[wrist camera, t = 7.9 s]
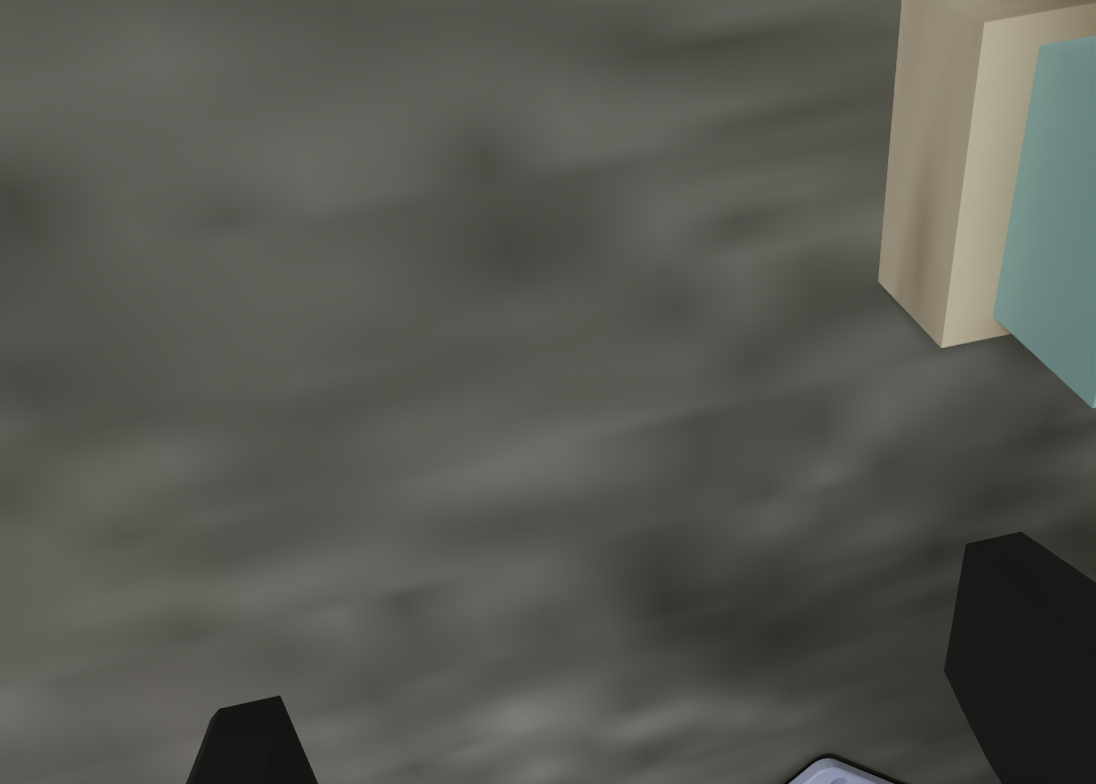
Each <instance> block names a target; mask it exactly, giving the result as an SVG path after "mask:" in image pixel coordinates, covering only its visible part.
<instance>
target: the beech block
mask: <svg viewBox="0 0 1096 784" xmlns="http://www.w3.org/2000/svg"><path fill="white" fill-rule="evenodd" d="M1094 35H1096V0H902V6H901V18H900V30H899V42H898V54H897V66H896V78H895V89H894V101H893V113H892V125H891V137H890V149H889V161H888V173H887V184H886V196H885V208H884V220H883V232H882V244H881V256H880V267H879V279H878V282H879V283H880V284H881V285H882V286H883V287H884V288H885V289H886V290H887V291H888V292H889V293H890V294H891V295H892V296H893V298H894V299H895V300H896V301H897V302H898V303H899V304H900V305H901V306H902V307H903V308H904V309H905V310H906V311H907V312H908V313H909V314H910V315H911V317H912V318H913V319H914V320H915V321H916V322H917V323H918V324H919V325H920V326H921V327H922V328H923V329H924V330H925V331H926V332H927V333H928V334H929V336H930V337H931V338H932V339H933V340H934V341H935V342H936V343H937V344H938V345H939V346H940V347H941V348H944V347H949V346H954V345H959V344H964V343H969V342H974V341H978V340H983V339H988V338H993V337H998V336H1003V335H1008V334H1012V333H1010V332H1009V331H1008V330H1007V329H1006V328H1005V327H1004V326H1003V325H1002V324H1001V323H1000V322H999V321H997V320H996V319H995V318H994V317H993V312H994V306H995V300H996V294H997V289H998V283H999V277H1000V271H1001V266H1002V260H1003V254H1004V248H1005V242H1006V237H1007V231H1008V225H1009V219H1010V214H1011V208H1012V202H1013V196H1014V190H1015V185H1016V179H1017V173H1018V167H1019V162H1020V156H1021V150H1022V144H1023V139H1024V133H1025V127H1026V122H1027V116H1028V110H1029V104H1030V99H1031V93H1032V87H1033V81H1034V76H1035V70H1036V64H1037V59H1038V53H1039V47H1040V45H1043V44H1048V43H1054V42H1060V41H1066V40H1071V39H1077V38H1083V37H1089V36H1094Z"/></svg>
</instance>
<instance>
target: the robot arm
mask: <svg viewBox="0 0 1096 784" xmlns="http://www.w3.org/2000/svg"><path fill="white" fill-rule="evenodd" d="M944 672H945V674H946V676H947V678H948V680H949V682H950V684H951V686H952V689H953V691H954V693H955V695H956V697H957V699H958V701H959V703H960V705H961V708H962V710H963V712H964V714H965V716H966V718H967V720H968V722H969V724H970V726H971V728H972V730H973V732H974V734H975V736H976V738H977V740H978V742H979V744H980V746H981V748H982V750H983V752H984V754H985V756H986V758H987V760H988V762H989V763H990V765H991V766H992V768H993V770H994V771H995V773H996V774H997V776H998V778H999V779H1000V781H1001V782H1002V784H1096V583H1095V582H1094V581H1092V580H1091V579H1089V578H1088V577H1087V576H1085V575H1084V574H1082V573H1081V572H1079V571H1078V570H1076V569H1075V568H1073V567H1072V566H1071V565H1069V564H1068V563H1066V562H1065V561H1063V560H1062V559H1060V558H1059V557H1057V556H1056V555H1055V554H1053V553H1052V552H1050V551H1049V550H1047V549H1046V548H1044V547H1043V546H1041V545H1040V544H1038V543H1037V542H1035V541H1034V540H1032V539H1031V538H1029V537H1028V536H1026V535H1025V534H1023V533H1022V532H1018V533H1013V534H1009V535H1004V536H1000V537H995V538H991V539H986V540H982V541H977V542H973V543H968V544H966V547H965V552H964V558H963V564H962V570H961V576H960V582H959V587H958V593H957V599H956V605H955V611H954V617H953V623H952V628H951V634H950V640H949V646H948V652H947V658H946V663H945V669H944ZM186 784H318V783H317V780H316V778H315V776H314V773H313V771H312V769H311V766H310V764H309V762H308V759H307V757H306V755H305V752H304V750H303V748H302V745H301V743H300V741H299V738H298V736H297V734H296V731H295V729H294V727H293V724H292V722H291V720H290V717H289V715H288V713H287V710H286V708H285V706H284V703H283V701H282V699H281V696H276V697H271V698H267V699H262V700H257V701H253V702H248V703H244V704H239V705H235V706H230V707H226V708H221V709H219V710H218V711H217V712H216V713H215V715H214V716H213V717H212V718H211V720H210V723H209V726H208V728H207V731H206V734H205V736H204V739H203V742H202V744H201V747H200V750H199V752H198V755H197V757H196V760H195V762H194V765H193V768H192V770H191V773H190V775H189V778H188V780H187V783H186ZM789 784H893V783H891V782H889V781H886V780H884V779H881V778H879V777H876V776H874V775H871V774H869V773H866V772H864V771H862V770H859V769H857V768H854V767H852V766H849V765H847V764H844V763H842V762H840V761H837V760H835V759H830V758H826V759H821V760H818V761H816V762H815V763H813V764H812V765H810V766H809V767H808V768H807V769H806V770H804V771H803V772H802V773H801V774H800V775H798V776H797V777H796V778H795V779H794V780H792V781H791V782H790V783H789Z"/></svg>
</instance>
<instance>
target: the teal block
mask: <svg viewBox="0 0 1096 784" xmlns="http://www.w3.org/2000/svg"><path fill="white" fill-rule="evenodd" d="M993 317H994V318H995V319H996V320H997V321H999V322H1000V323H1001V324H1002V325H1003V326H1004V327H1005V328H1006V329H1007V330H1008V331H1009V332H1010V333H1012V334H1013V335H1014V336H1015V337H1016V338H1017V339H1018V340H1019V341H1020V342H1021V343H1022V344H1023V345H1024V346H1026V347H1027V348H1028V349H1029V350H1030V351H1031V352H1032V353H1033V354H1034V355H1035V356H1036V357H1037V358H1039V359H1040V360H1041V361H1042V362H1043V363H1044V364H1045V365H1046V366H1047V367H1048V368H1049V369H1050V370H1052V371H1053V372H1054V373H1055V374H1056V375H1057V376H1058V377H1059V378H1060V379H1061V380H1062V381H1063V382H1064V383H1066V384H1067V385H1068V386H1069V387H1070V388H1071V389H1072V390H1073V391H1074V392H1075V393H1076V394H1077V395H1079V396H1080V397H1081V398H1082V399H1083V400H1084V401H1085V402H1086V403H1087V404H1088V405H1089V406H1090V407H1092V408H1096V35H1094V36H1089V37H1083V38H1077V39H1071V40H1066V41H1060V42H1054V43H1048V44H1043V45H1040V47H1039V53H1038V59H1037V64H1036V70H1035V76H1034V81H1033V87H1032V93H1031V99H1030V104H1029V110H1028V116H1027V122H1026V127H1025V133H1024V139H1023V144H1022V150H1021V156H1020V162H1019V167H1018V173H1017V179H1016V185H1015V190H1014V196H1013V202H1012V208H1011V214H1010V219H1009V225H1008V231H1007V237H1006V242H1005V248H1004V254H1003V260H1002V266H1001V271H1000V277H999V283H998V289H997V294H996V300H995V306H994V312H993Z"/></svg>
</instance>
